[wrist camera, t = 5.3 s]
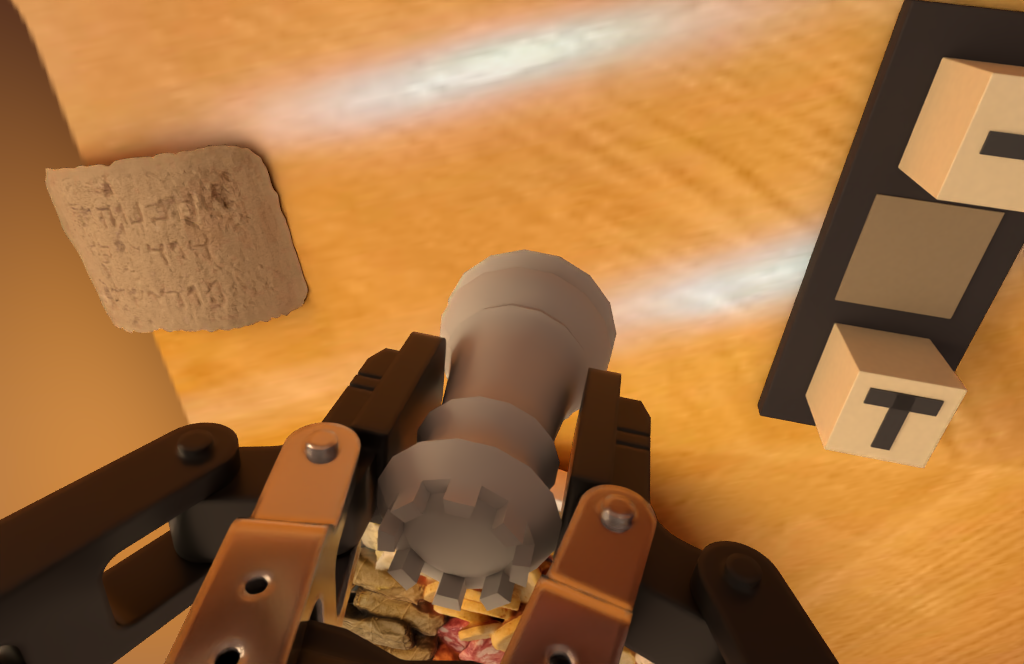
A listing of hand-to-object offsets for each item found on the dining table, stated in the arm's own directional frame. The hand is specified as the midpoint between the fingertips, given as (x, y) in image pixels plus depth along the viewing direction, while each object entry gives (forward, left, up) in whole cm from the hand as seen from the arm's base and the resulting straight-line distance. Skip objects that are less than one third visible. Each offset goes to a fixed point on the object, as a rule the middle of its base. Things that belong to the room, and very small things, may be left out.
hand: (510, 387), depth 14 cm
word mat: (+2, +15, -19) cm, 25 cm away
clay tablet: (+8, -23, -19) cm, 31 cm away
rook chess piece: (0, 0, -3) cm, 3 cm away
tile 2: (-4, +15, -18) cm, 24 cm away
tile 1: (+8, +15, -18) cm, 25 cm away
